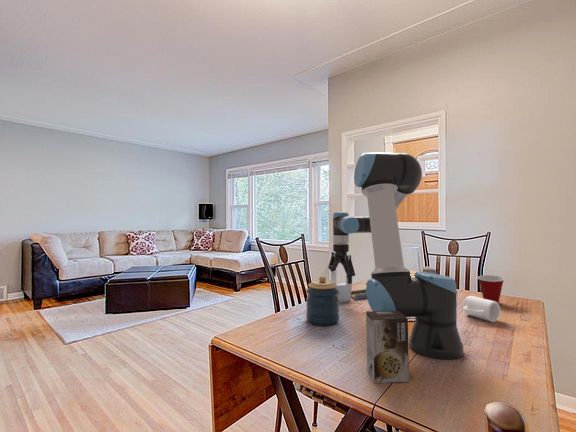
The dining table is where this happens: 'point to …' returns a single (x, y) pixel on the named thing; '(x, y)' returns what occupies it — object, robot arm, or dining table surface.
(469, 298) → the mug
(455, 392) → the dining table surface
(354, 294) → the grey rectangular tray
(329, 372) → the dining table surface
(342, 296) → the white rectangular block
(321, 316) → the canister
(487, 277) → the plastic cup
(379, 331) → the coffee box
